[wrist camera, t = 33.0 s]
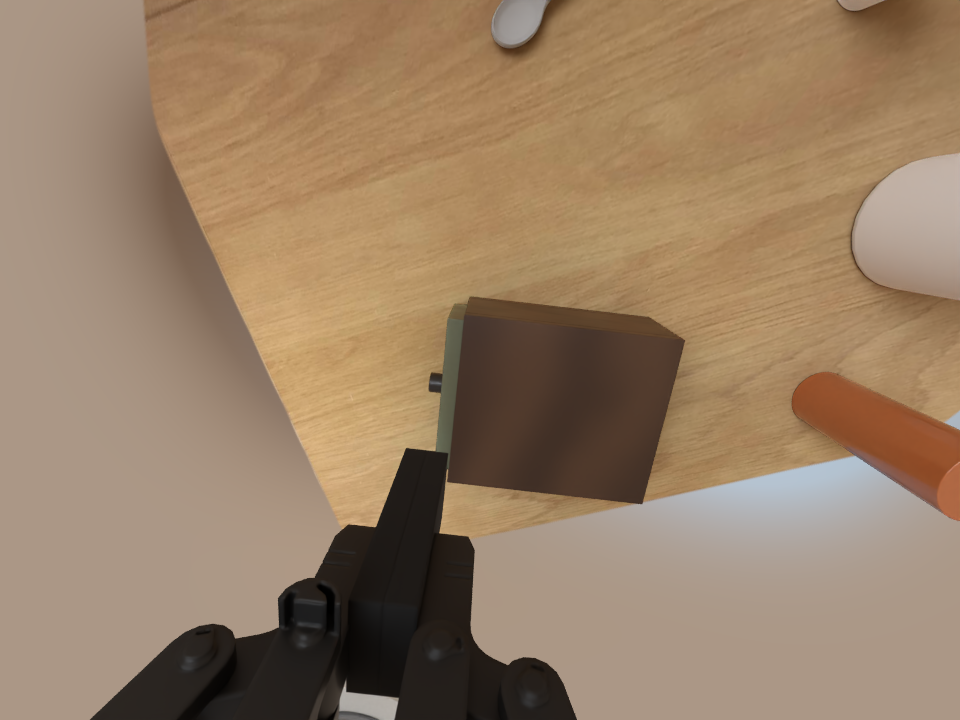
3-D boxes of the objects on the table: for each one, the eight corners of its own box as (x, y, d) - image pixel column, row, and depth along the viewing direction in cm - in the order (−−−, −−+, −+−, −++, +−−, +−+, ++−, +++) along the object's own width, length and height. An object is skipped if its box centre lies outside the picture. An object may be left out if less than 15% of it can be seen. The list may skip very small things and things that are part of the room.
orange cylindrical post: (822, 432, 41) (978, 534, 28) (779, 407, 41) (919, 500, 27) (861, 388, 40) (1046, 474, 27) (818, 362, 39) (984, 436, 26)
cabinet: (455, 437, 43) (447, 482, 35) (469, 296, 38) (464, 314, 31) (617, 455, 43) (642, 504, 35) (649, 316, 39) (685, 340, 31)
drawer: (429, 433, 42) (419, 466, 36) (440, 301, 38) (431, 316, 32) (596, 452, 42) (612, 488, 36) (624, 323, 38) (646, 341, 32)
